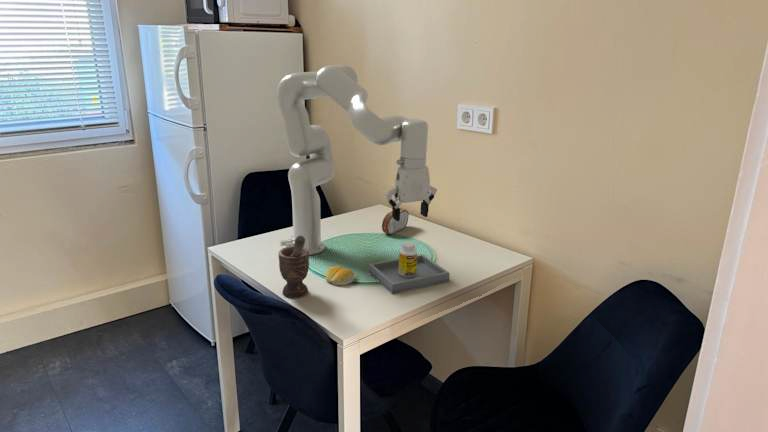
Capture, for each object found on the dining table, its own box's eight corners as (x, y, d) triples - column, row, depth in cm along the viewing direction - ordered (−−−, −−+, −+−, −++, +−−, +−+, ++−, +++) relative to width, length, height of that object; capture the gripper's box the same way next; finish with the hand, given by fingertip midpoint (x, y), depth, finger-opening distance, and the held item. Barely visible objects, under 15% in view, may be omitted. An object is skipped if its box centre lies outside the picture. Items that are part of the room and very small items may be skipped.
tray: (392, 293, 156) (392, 284, 155) (368, 272, 169) (368, 264, 168) (448, 281, 164) (449, 272, 163) (422, 262, 178) (422, 254, 177)
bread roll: (337, 271, 170) (337, 260, 168) (358, 280, 164) (358, 268, 163) (319, 280, 164) (319, 268, 162) (340, 288, 158) (340, 276, 157)
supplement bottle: (405, 279, 163) (406, 248, 159) (394, 272, 167) (396, 242, 164) (419, 275, 166) (421, 245, 162) (409, 269, 170) (410, 239, 167)
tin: (403, 225, 212) (403, 205, 210) (409, 227, 211) (410, 206, 208) (380, 235, 201) (381, 214, 198) (387, 237, 199) (388, 216, 196)
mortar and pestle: (322, 296, 153) (321, 231, 147) (298, 306, 147) (296, 239, 141) (297, 283, 161) (296, 221, 154) (274, 292, 155) (271, 228, 148)
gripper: (393, 167, 148) (390, 225, 153) (444, 163, 155) (441, 218, 161) (380, 162, 154) (379, 217, 160) (431, 157, 162) (428, 210, 167)
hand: (410, 217), depth 160 cm, fingers open, 9 cm apart
